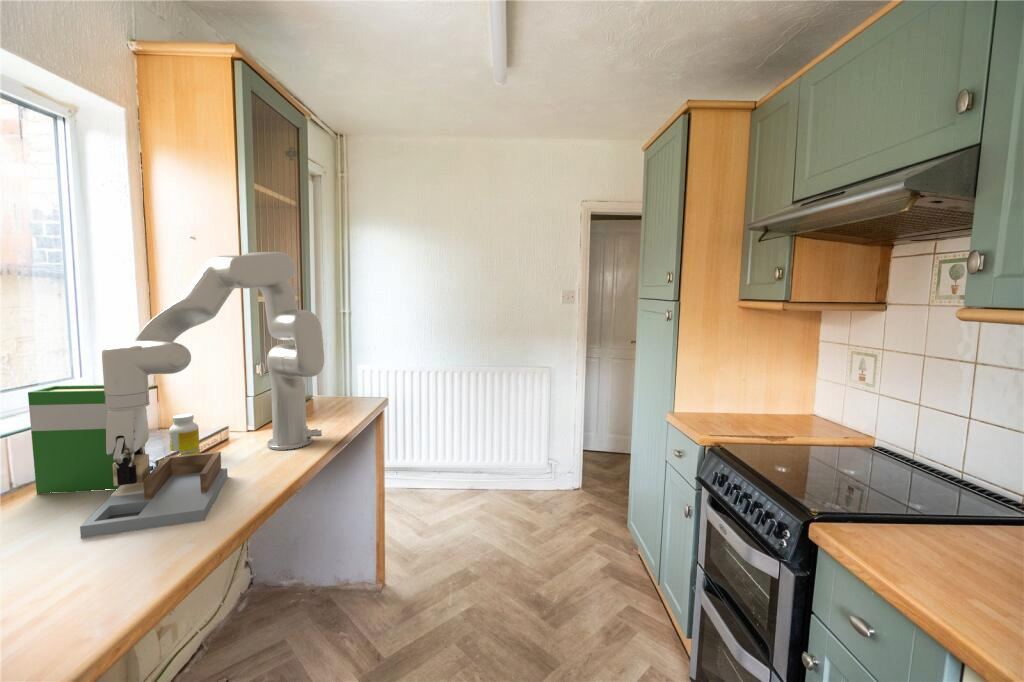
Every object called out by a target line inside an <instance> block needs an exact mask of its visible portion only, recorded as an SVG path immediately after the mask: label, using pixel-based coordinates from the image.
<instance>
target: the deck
mask: <svg viewBox="0 0 1024 682" xmlns="http://www.w3.org/2000/svg"><path fill="white" fill-rule="evenodd" d="M200 473H201V472H200ZM200 473H191V474H181V475H172V476H171V477H170V478H169V479H168V480H167V482H166V483H165V484H164V485H163V486H162V488H161V489H160V490H159V491H158V492H157V494H156V495H155V496H154V497H153V498H152V500H145V498H144V482H142V483H136V484H127V485H121V486H120V487H119V488H118V489H117V490H114V491H113V492H112V493H111V494H110V497H109V498H108V499H107V500H105V502H104V503H103V504H102V505H101V506H99V508H98V509H96V511H95V512H94V513H92V514H91V515H90V516H89V517H88V518H87V519H86V520H85V521H84V522H82V524H81V525H80V526H79V531H80V539H86V538H93V537H100V536H106V535H113V534H121V533H128V532H135V530H136V531H141V530H147V529H156V528H162V527H167V526H168V527H169V526H170V527H171V526H176V525H177V526H178V525H183V524H191V523H197V522H203V521H205V520H206V519H207V517H208V515H209V514H210V512H211V509H212V507H213V506H212V505H214V504H215V502H216V500H217V499H218V498H217V497H218V496H219V494H220V492H221V490H222V489H221V488H223V487H222V486H224V485H223V484H225V483H226V481H227V479H228V468H227V467H223V468H222V467H221V470H220V472H219V473H218V475H217V477H216V478H215V480H214V482H213V484H212V485H211V487H210V489H209V490H208V492H207V493H201V485H200Z"/></svg>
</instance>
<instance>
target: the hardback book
mask: <svg viewBox="0 0 1024 682" xmlns="http://www.w3.org/2000/svg"><path fill="white" fill-rule="evenodd" d="M27 397H28V399H27V400H28V408H29V409H28V410H29V411H28V412H29V422H30V432H31V445H32V453H33V454H32V455H33V467H34V480H35V490H36V495H39V494H38V493H50V492H51V494H53V493H52V492H70V493H77V492H76V491H88V492H92V491H91V490H105V489H118V488H119V487H120V486H121V485H118V486H114V480H113V465H112V464H113V463H114V462H115V461H114V460H113V456H114V454H113V455H110V456H109V455H107V453H106V421H107V413H108V410H106V409H105V395H104V384H93V385H92V384H90V385H89V384H87V385H85V384H84V385H83V384H80V385H79V384H78V385H52V386H47V387H43V388H40V389H36V390H31V391H28V392H27ZM124 453H128V450H124ZM126 456H129V455H126Z"/></svg>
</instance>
